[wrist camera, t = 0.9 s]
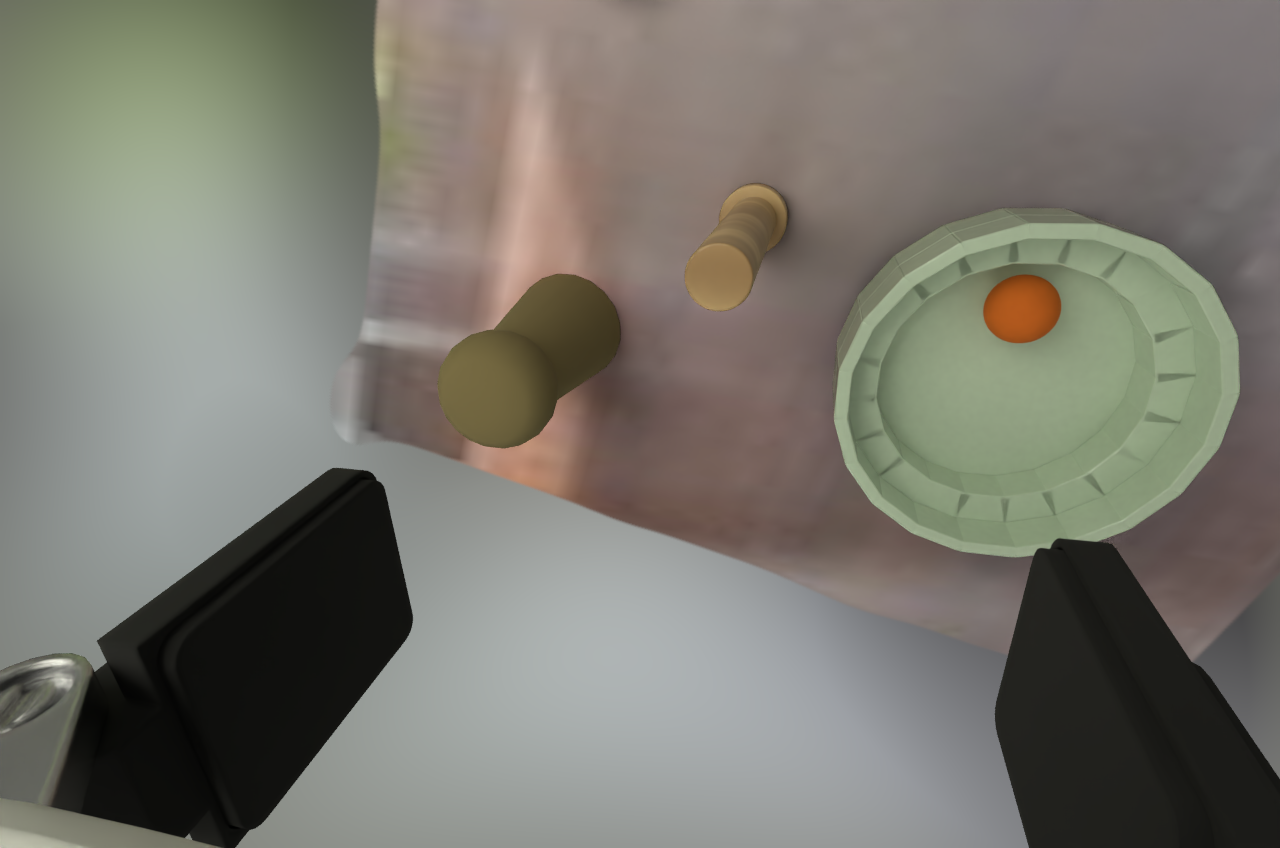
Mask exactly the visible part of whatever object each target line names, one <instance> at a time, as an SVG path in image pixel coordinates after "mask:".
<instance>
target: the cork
mask: <svg viewBox="0 0 1280 848" xmlns="http://www.w3.org/2000/svg"><path fill="white" fill-rule="evenodd" d="M619 342H620V322H619V319H618V316H617V313H616V310H615V307H614V305H613V304H612V303H611V301H610V300H609V298H608V297H607V295H606V294H605V293H604V292H603V291H602V290H601V289H600V288H598V287H597V286H596V285H594V284H593V283H592V282H591V281H589V280H586V279H583V278H581V277H578V276H576V275H567V274H556V275H552V276H549V277H545V278H542V279H541V280H539V281H538V282H537V283H535V284H534V285H533V286H531V287H530V288H529V289H528V290H527V292H526V293H525V294H524V295H523V296H522V297H521V299H520V300H519V301H518V302H517V303H516V304H515V305H514V307H513V308H512V309H511V310H510V311H509V312H508V314H507V315H506V316H505V317H504V318H503V319H502V321H501V322H500V323H499V324H498V325H497V326H496V328H495V329H494V330H487V331H483V332H479V333H476V334H472V335H470V336H468V337H467V338H465V339H464V340H462V341H461V342H460V343H458V344H457V345H456V346H454V347H453V348H452V349H451V351H450V353H449V354H448V356H447V357H446V359H445V361H444V362H443V364H442V366H441V367H440V372H439V378H438V383H437V384H438V393H439V400H440V405H441V407H442V409H443V411H444V414H445V416H446V418H447V419H448V420H449V422H450V423H451V424H452V425H453V427H454V428H455V429H456V430H457V431H458V432H459V433H461V434H462V435H463V436H465V437H466V438H467V439H469V440H471V441H473V442H475V443H478V444H480V445H483V446H487V447H496V448H509V447H514V446H519V445H521V444H523V443H525V442H527V441H529V440H530V439H532V438H533V437H535V436H537V435H538V434H539V433H540V432H541V431H542V430H543V428H544V427H545V426H546V424H547V423H548V422H549V420H550V419H551V418H552V416H553V413H554V410H555V406H556V402H557V400H558V399H559V398H561V397H562V396H564V395H565V394H567V393H568V392H570V391H571V390H573V389H574V388H576V387H577V386H579V385H580V384H582V383H583V382H585V381H586V380H588V379H589V378H591V377H592V376H594V375H595V374H597V373H598V372H599V371H601V370H602V369H604V368H605V367H607V365H608V364H609V363H610V361H611V360H612V359H613V357H614V356H615V355H616V352H617V348H618V345H619Z"/></svg>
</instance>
